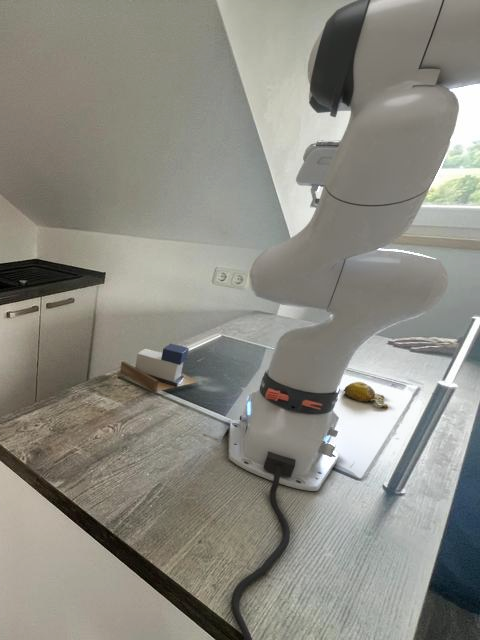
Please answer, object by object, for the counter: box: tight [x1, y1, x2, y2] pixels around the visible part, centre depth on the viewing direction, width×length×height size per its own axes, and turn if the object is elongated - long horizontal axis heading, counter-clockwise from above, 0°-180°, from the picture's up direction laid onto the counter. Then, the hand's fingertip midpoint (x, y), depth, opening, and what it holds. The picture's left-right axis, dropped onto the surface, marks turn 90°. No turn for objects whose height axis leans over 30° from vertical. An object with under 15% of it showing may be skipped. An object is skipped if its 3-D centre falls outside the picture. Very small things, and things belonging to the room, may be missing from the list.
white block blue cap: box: [134, 343, 190, 388], centre depth 103 cm, size 12×6×9 cm, turn 48°
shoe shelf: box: [119, 361, 200, 393], centre depth 105 cm, size 16×13×4 cm
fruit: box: [343, 381, 389, 408], centre depth 96 cm, size 8×8×4 cm
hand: (339, 209), depth 87 cm, fingers open, 8 cm apart
